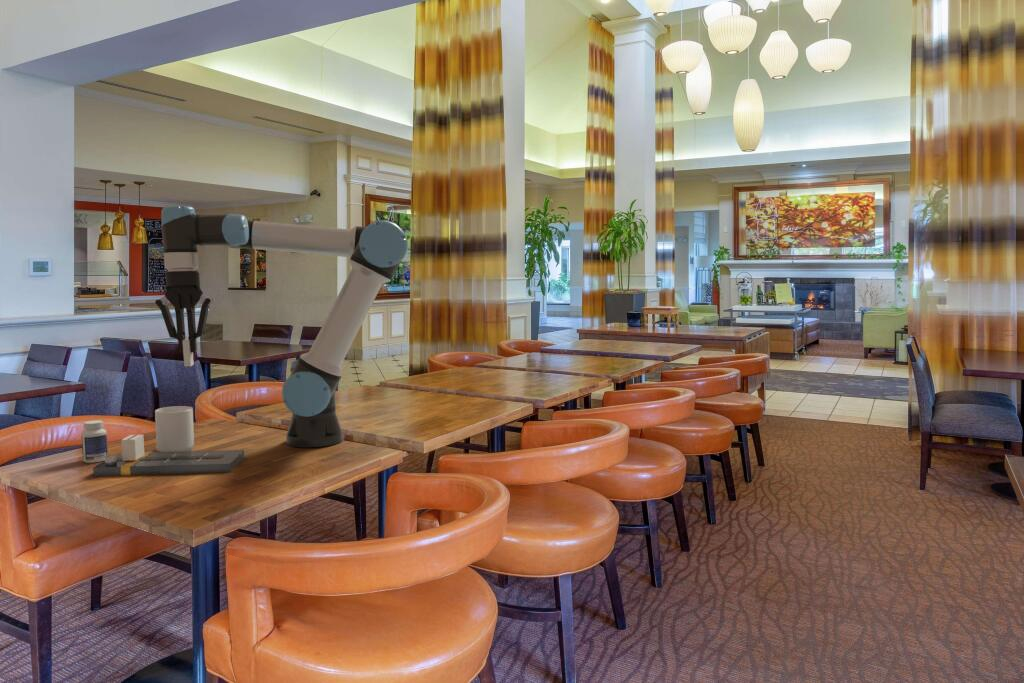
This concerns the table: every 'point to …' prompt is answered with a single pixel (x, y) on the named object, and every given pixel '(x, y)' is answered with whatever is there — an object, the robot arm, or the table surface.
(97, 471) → the console board
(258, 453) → the table surface
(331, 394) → the robot arm
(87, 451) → the pill bottle
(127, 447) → the fader tab
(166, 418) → the mug
